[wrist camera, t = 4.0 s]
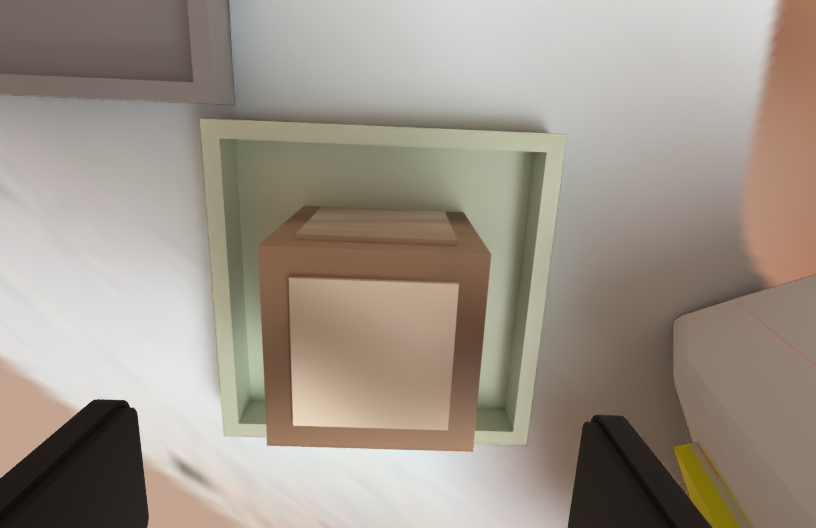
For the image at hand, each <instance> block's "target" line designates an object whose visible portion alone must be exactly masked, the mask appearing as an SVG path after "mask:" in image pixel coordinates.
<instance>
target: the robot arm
mask: <svg viewBox="0 0 816 528" xmlns="http://www.w3.org/2000/svg"><path fill="white" fill-rule="evenodd" d="M148 516H149V514H148V506H147V497H146V487H145V478H144V470H143V461H142V452H141V443H140V434H139V425H138V416H137V411H136V410H135V409H134V408H130V406H129V404H128V402H126V401H125V400H99V399H98V400H93V401H92V402H90V403H89V404H88V405H87V406H85V407H84V408H83V409H82V410H81V411H80V412H78V413H77V414H76V415H75V416H74V417H72V418H71V419H70V420H69V421H68V422H67V423H65V424H64V425H63V426H62V427H61V428H59V429H58V430H57V431H56V432H55V433H54V434H52V435H51V436H50V437H49V438H48V439H46V440H45V441H44V442H43V443H42V444H41V445H39V446H38V447H37V448H36V449H35V450H33V451H32V452H31V453H30V454H29V455H28V456H26V457H25V458H24V459H23V460H22V461H21V462H19V463H18V464H17V465H16V466H15V467H13V468H12V469H11V470H10V471H9V472H8V473H6V474H5V475H4V476H3V477H2V478H0V528H147V525H148V519H149V517H148ZM568 528H712V526H711V525H710V524H709V523H708V521H707V520H706V519H705V518H704V516H703V515H702V514H701V513H700V511H699V510H698V509H697V508H696V506H695V505H694V504H693V503H692V501H691V500H690V499H689V498H688V496H687V495H686V494H685V492H684V491H683V490H682V489H681V487H680V486H679V485H678V484H677V482H676V481H675V480H674V479H673V477H672V476H671V475H670V474H669V472H668V471H667V470H666V469H665V467H664V466H663V465H662V464H661V462H660V461H659V460H658V458H657V457H656V456H655V455H654V453H653V452H652V451H651V450H650V448H649V447H648V446H647V445H646V443H645V442H644V441H643V440H642V438H641V437H640V436H639V435H638V433H637V432H636V431H635V430H634V428H633V427H632V426H631V425H630V423H629V422H628V421H627V419H626V418H624V417H623V416H612V415H595V416H593V418H592V419H591V422H585V423H584V425H583V429H582V435H581V442H580V449H579V455H578V462H577V469H576V475H575V482H574V489H573V495H572V502H571V509H570V515H569V522H568Z"/></svg>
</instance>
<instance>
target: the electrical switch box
mask: <svg viewBox="0 0 816 528" xmlns="http://www.w3.org/2000/svg"><path fill="white" fill-rule="evenodd" d="M673 379H674V384H675V388H676V391H677V394H678V397H679V400H680V404H681V407H682V410H683V413H684V416H685V420H686V423H687V426H688V429H689V433H690V436H691V439H692V443H688V444H684V445H679V446H675V447H674V451H675V454H676V457H677V460H678V463H679V466H680V469H681V472H682V475H683V478H684V481H685V484H686V487H687V490H688V493H689V497H690V500H691V501H692V503H693V504H694V505H695V506H696V508H697V509H698V510H699V511H700V513H701V514H702V515H703V516H704V518H705V519H706V520H707V521H708V523H709V524H710V525H711V526H712V528H816V274H815V275H812V276H809V277H805V278H802V279H798V280H795V281H792V282H788V283H785V284H782V285H778V286H775V287H772V288H768V289H765V290H762V291H758V292H755V293H752V294H748V295H745V296H742V297H738V298H735V299H732V300H729V301H726V302H723V303H720V304H716V305H713V306H710V307H707V308H704V309H701V310H698V311H694V312H691V313H688V314H685V315H682V316H680V317H679V318H677V319H676V320H675V322H674V325H673Z"/></svg>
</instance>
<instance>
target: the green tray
mask: <svg viewBox="0 0 816 528" xmlns="http://www.w3.org/2000/svg"><path fill="white" fill-rule="evenodd" d="M200 131H201V145H202V158H203V171H204V184H205V197H206V210H207V223H208V236H209V249H210V262H211V275H212V288H213V301H214V314H215V327H216V340H217V353H218V366H219V379H220V392H221V405H222V418H223V431H224V436H230V437H264V438H267V430H266V409H265V388H264V367H263V346H262V325H261V304H260V283H259V262H258V245H259V244H260V243H261V242H262V241H263V240H265V239H266V238H267V237H268V236H269V235H271V234H272V233H273V232H274V231H275V230H276V229H278V228H279V227H280V226H281V225H282V224H283V223H285V222H286V221H287V220H288V219H289V218H290V217H292V216H293V215H294V214H295V213H296V212H297V211H299V210H300V209H301V208H302V207H303V206H319V207H322V206H324V207H349V208H374V209H400V210H425V211H445V212H464V214H465V215H466V217H467V218H468V220H469V221H470V223H471V224H472V226H473V227H474V229H475V230H476V232H477V233H478V235H479V236H480V238H481V239H482V241H483V242H484V244H485V245H486V247H487V248H488V250H489V251H490V253H491V264H490V275H489V285H488V296H487V307H486V317H485V328H484V339H483V349H482V360H481V371H480V381H479V392H478V403H477V413H476V424H475V435H474V444H498V445H527V438H528V431H529V423H530V415H531V408H532V400H533V392H534V385H535V377H536V369H537V362H538V354H539V346H540V339H541V331H542V323H543V316H544V308H545V300H546V293H547V285H548V277H549V270H550V262H551V254H552V247H553V239H554V231H555V224H556V216H557V208H558V200H559V193H560V185H561V177H562V170H563V162H564V154H565V147H566V139H567V135H566V134H554V133H536V132H513V131H490V130H467V129H443V128H420V127H397V126H374V125H351V124H328V123H305V122H282V121H259V120H235V119H200Z"/></svg>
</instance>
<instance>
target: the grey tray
mask: <svg viewBox="0 0 816 528" xmlns="http://www.w3.org/2000/svg"><path fill="white" fill-rule="evenodd" d="M0 95H17V96H40V97H62V98H85V99H108V100H131V101H154V102H176V103H199V104H222V105H235V101H234V83H233V65H232V48H231V30H230V12H229V0H0Z"/></svg>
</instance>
